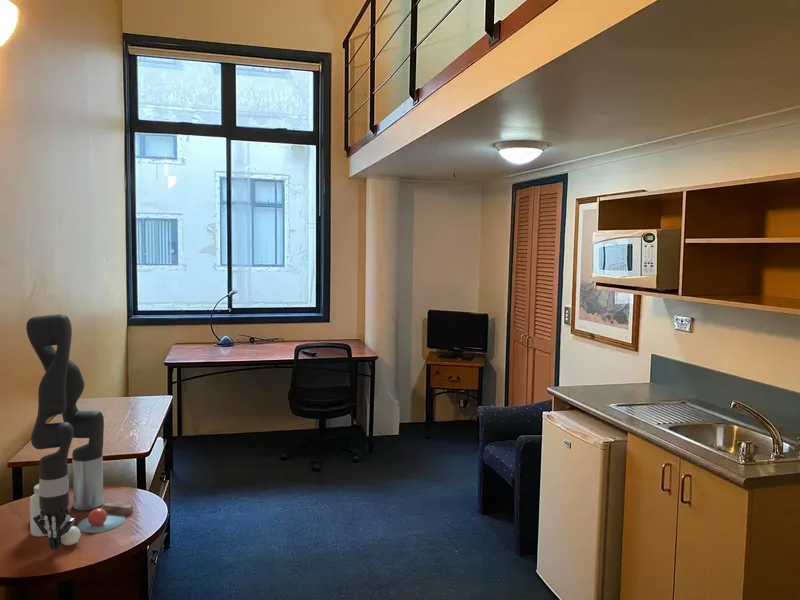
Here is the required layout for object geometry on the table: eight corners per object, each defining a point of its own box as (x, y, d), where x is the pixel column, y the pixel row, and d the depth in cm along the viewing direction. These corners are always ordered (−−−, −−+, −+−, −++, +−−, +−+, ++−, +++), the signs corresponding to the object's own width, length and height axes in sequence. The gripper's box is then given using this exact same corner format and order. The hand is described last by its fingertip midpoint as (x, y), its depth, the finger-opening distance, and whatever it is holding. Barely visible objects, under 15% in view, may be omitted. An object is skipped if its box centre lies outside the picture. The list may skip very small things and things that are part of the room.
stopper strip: (102, 512, 202) (102, 505, 201) (106, 509, 204) (106, 502, 203) (129, 515, 200) (129, 508, 200) (132, 512, 202) (132, 505, 201)
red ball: (83, 510, 191) (90, 519, 194) (86, 523, 187) (93, 532, 190) (101, 501, 193) (107, 511, 196) (104, 514, 189) (110, 524, 192)
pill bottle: (26, 538, 182) (25, 491, 181) (35, 526, 190) (34, 481, 189) (55, 535, 184) (54, 489, 183) (63, 524, 192) (61, 479, 191)
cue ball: (58, 525, 179) (62, 538, 182) (57, 538, 175) (62, 551, 177) (78, 519, 181) (82, 532, 184) (77, 532, 177) (82, 545, 179)
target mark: (73, 520, 195) (73, 520, 195) (119, 509, 204) (119, 509, 204) (82, 537, 184) (82, 536, 184) (130, 524, 193) (130, 524, 193)
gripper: (24, 493, 170) (25, 551, 172) (64, 498, 168) (65, 557, 169) (44, 483, 178) (45, 539, 179) (83, 488, 175) (84, 544, 177)
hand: (55, 548), depth 174 cm, fingers closed
